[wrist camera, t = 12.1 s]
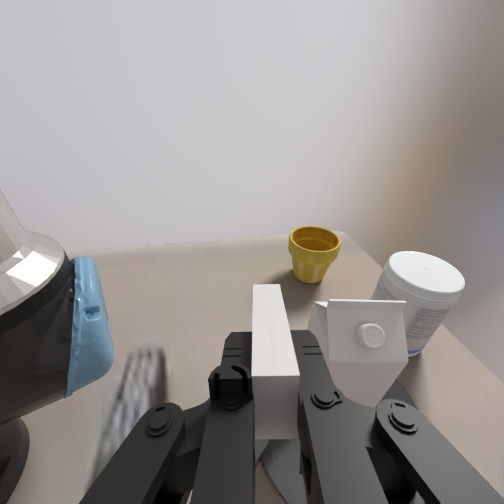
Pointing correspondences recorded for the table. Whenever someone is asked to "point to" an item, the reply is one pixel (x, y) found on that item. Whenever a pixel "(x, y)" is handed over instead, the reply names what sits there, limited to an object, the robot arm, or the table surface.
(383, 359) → the milk carton
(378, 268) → the table surface
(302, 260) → the plant pot
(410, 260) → the supplement tub
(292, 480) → the turntable
